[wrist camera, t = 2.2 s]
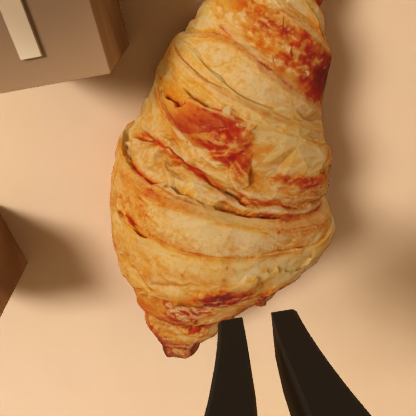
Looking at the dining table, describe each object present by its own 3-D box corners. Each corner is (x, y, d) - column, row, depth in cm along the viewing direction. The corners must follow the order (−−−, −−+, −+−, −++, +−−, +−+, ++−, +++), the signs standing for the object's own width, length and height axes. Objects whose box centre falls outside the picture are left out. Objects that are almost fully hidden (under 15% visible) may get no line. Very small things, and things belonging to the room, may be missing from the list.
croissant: (205, -89, 16) (74, -174, 9) (457, -38, 13) (526, -104, 7) (141, 282, 26) (59, 367, 20) (275, 349, 24) (233, 472, 17)
